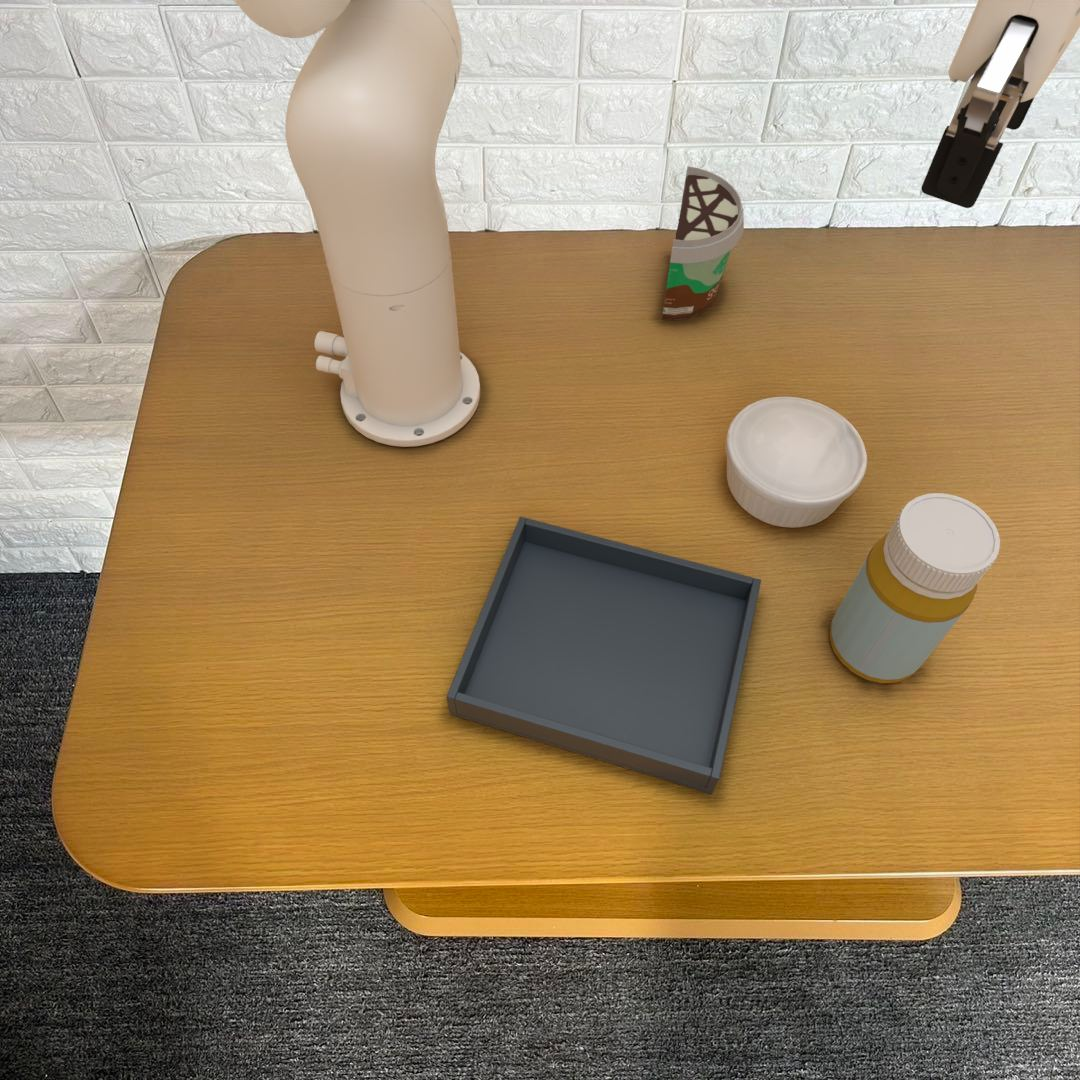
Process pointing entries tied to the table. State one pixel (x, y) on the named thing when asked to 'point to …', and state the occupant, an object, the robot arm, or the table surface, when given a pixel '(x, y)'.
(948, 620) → the bottle
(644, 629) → the tray
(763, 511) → the ramekin
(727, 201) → the food container
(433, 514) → the table surface
